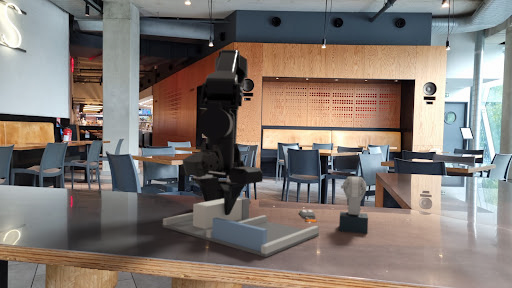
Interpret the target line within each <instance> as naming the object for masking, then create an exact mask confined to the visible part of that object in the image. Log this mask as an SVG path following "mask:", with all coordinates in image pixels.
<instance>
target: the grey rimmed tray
mask: <svg viewBox="0 0 512 288" xmlns="http://www.w3.org/2000/svg"><path fill="white" fill-rule="evenodd" d="M162 228H165V229H169V230H172V231H175V232H179V233H182V234H186V235H189V236H193V237H196V238H199V239H203V240H206V241H210V242H213V243H217V244H219V245H224V246H227V247H230V248H233V249H237V250H240V251H244V252H247V253H250V254H254V255H256V256H257V255H258V256H261V257H264V258H268V257H270V256H272V255H275V254H277V253H280V252H282V251H285V250H287V249H290V248H291V247H294V246H297V245H299V244H302V243H304V242H306V241H309V240H311V239H313V238H315V237H318V236H320V235H319V234H320V226H318V225H313V226H310V227H307V228H305V229H303V228H298V227H295V226H291V225H286V224H281V223H276V222H272V221H268V215H264V214H262V215H260V216H256V217H249V218H247V219H243V220H242V219H241V220H238V221H230V220H226V219H222V218H217V217H216V218H213V227H211V228H207V229H203V228H199V227H195V226H193V212H189V213H183V214H179V215H174V216H169V217H164V218H163V219H162ZM308 239H309V240H308Z"/></svg>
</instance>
